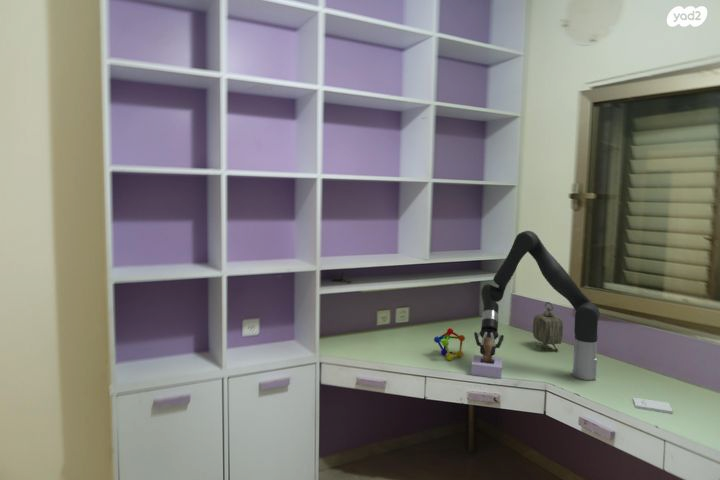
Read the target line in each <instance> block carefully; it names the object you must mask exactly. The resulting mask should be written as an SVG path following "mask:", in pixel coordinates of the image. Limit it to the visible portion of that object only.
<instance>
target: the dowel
mask: <svg viewBox="0 0 720 480" xmlns="http://www.w3.org/2000/svg"><path fill="white" fill-rule="evenodd" d="M492 345H493V338H491V337H484V344H483V355H482V356H483V363H489V364H492V357H493V356H492V347H493V346H492Z"/></svg>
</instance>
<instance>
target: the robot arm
mask: <svg viewBox="0 0 720 480" xmlns="http://www.w3.org/2000/svg"><path fill="white" fill-rule="evenodd" d="M527 253H528V254H529V255H531V257H532V259H534V261H535V262H536V264H537V266H538V269H539V270H540V273H541V275H542V276H543V277H544V279H545V280H546V282H547V283H548V284H549V285H550V287H552V288H553V289H554V290H555V292H557V293H558V294H559V295H561V296H562V297H563V298H565V299H566V300H567V301H568V303H570V305H571V306H572V307H573V309H574V311H575V315H574V344H573V345H574V346H573V358H572V359H573V360H572V361H573V362H572V377H575V378H576V379H580V380H582V381H583V380H586V381H593V380H595V381H596V379H597V378H596V377H597V366H598V365H597V364H598V358H597V350H598V336H599V335H598V323H599V319H600V317H601V312H600V309H599V308H598V307H597V305H596V304H595V303H594V302H592V300H591V299H589V298H588V297H587V296H586V295H585V294H584V292H582V290H581V289H580V287H579V286H578V285H577V284H576V282H575V281H574V280H573V278H572V277H571V276H570V275H569V273H568V272H567V271H566V270H565V268H564V267H563V266H562V265H561V264H560V263H559V262H558V261H557V260H556V258H555V257H554V256H553V255H552V254H551V253H550V252H549V251H548V250H547V247H545V245H544V244H543V242H542V240H541V239H540V238H539V236H538V235H537V234H536V233H535V232H534V231H532V230H525V231H522V232H520V233H518V234H517V235H516V237H515V239H514V241H513V244H512V245H511V249H510V250H509V252H508V255H507V256H506V258H505V259H504V261H503V262H502V265H501V266H500V267H499V268H498V270H497V272H495V275H494V276H493V279H492V280H493V282H494V284H496V285H498V287H496V286H495V285H492V284H490V283H486V284H484V285H483V286H482V287H481V290H480V291H481V294H480V295H481V299H482V304H483V312H482V318H481V327H480V331H479V332H473V335H474V338H475V342H476V343H475V344H476V346H478V347H480V348H479V353H480V354H481V355H480V356H483V344H484V337H491V338H493V345H492V357H494V355H495V354H496V349H500V348H501V346H502V343H503V341H504V339H505V338H504V337H505V336H504V334H502V335H501V334H499V332H498V328H499V307H500V306H499V304H498V302H500V301H501V300H502V299H503V297H504V295H505V291H506V288H507V285H508V283H509V282H510V280H511V279H512V278H513V276H514V274H515V272H516V270H517V267H518V265H519V263H520V262H521V260H522V258H523V257H524V256H525V255H526V254H527ZM480 337H481V342H480V340H479V338H480ZM496 339H498V341H497V343H496V342H495V340H496Z"/></svg>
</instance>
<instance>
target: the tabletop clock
mask: <svg viewBox="0 0 720 480" xmlns="http://www.w3.org/2000/svg"><path fill="white" fill-rule="evenodd" d="M547 304H548V305H550V306H551V308H550V307H547ZM544 306H545V311H544V312H543V314H536V315H534V317H533V325H532V326H533V327H532V336H533V338H534V339H535V340H537V342H540V343H542V345H541V346H540V347H541V349H542V350H543V349H545V346H546V345H552V346H553V348H554V351H555V352H559V349H558V348H557V347H556V345H560V344H562V341H563V335H564V334H563V333H564V331H563V330H564V326H563V325H564V324H563V320H562V318H561V317H559V316H558V315H555V314H554V312H553V309H554V308H553V307H554V306H553V304H552V303H551V302H550V301H549V302H548V301H547V302H545V305H544Z"/></svg>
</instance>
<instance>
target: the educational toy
mask: <svg viewBox="0 0 720 480" xmlns="http://www.w3.org/2000/svg"><path fill="white" fill-rule="evenodd" d="M465 337H466V336H465V335H463V334H460V335H459V334H458V333H456V332H454V329H453V328H451V327H449V328H448V329H447V330H446V332H445V333H443V334H442V335H439V336H435V337H434V338H433V341H434V343H436V344H438V346H439V347H440V354H441V355H442V354H443V355H442V356H446V360H447V361H452V360H453V359H454V358H455V357H459V358H462V357H463V356H464V353H463V351H462V348H463V347H462V346H463V342H464V341H465V339H466V338H465ZM450 339H454V340H455V339H456V340H457V339H458V340H459V349H458V351H457V352H455V351H450V348H449V344H450V343H449V340H450ZM441 343H442V344H441Z"/></svg>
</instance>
